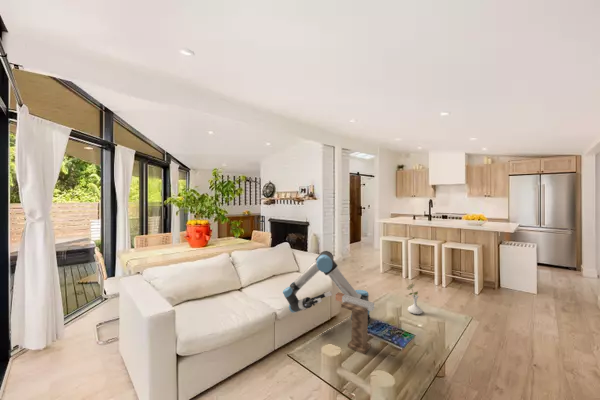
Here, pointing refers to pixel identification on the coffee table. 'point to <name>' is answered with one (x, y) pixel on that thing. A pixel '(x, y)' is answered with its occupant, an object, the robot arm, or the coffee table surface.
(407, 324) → the coffee table surface
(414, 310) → the flower in vase
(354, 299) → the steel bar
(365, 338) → the walnut stand
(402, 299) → the coffee table surface
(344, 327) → the coffee table surface
